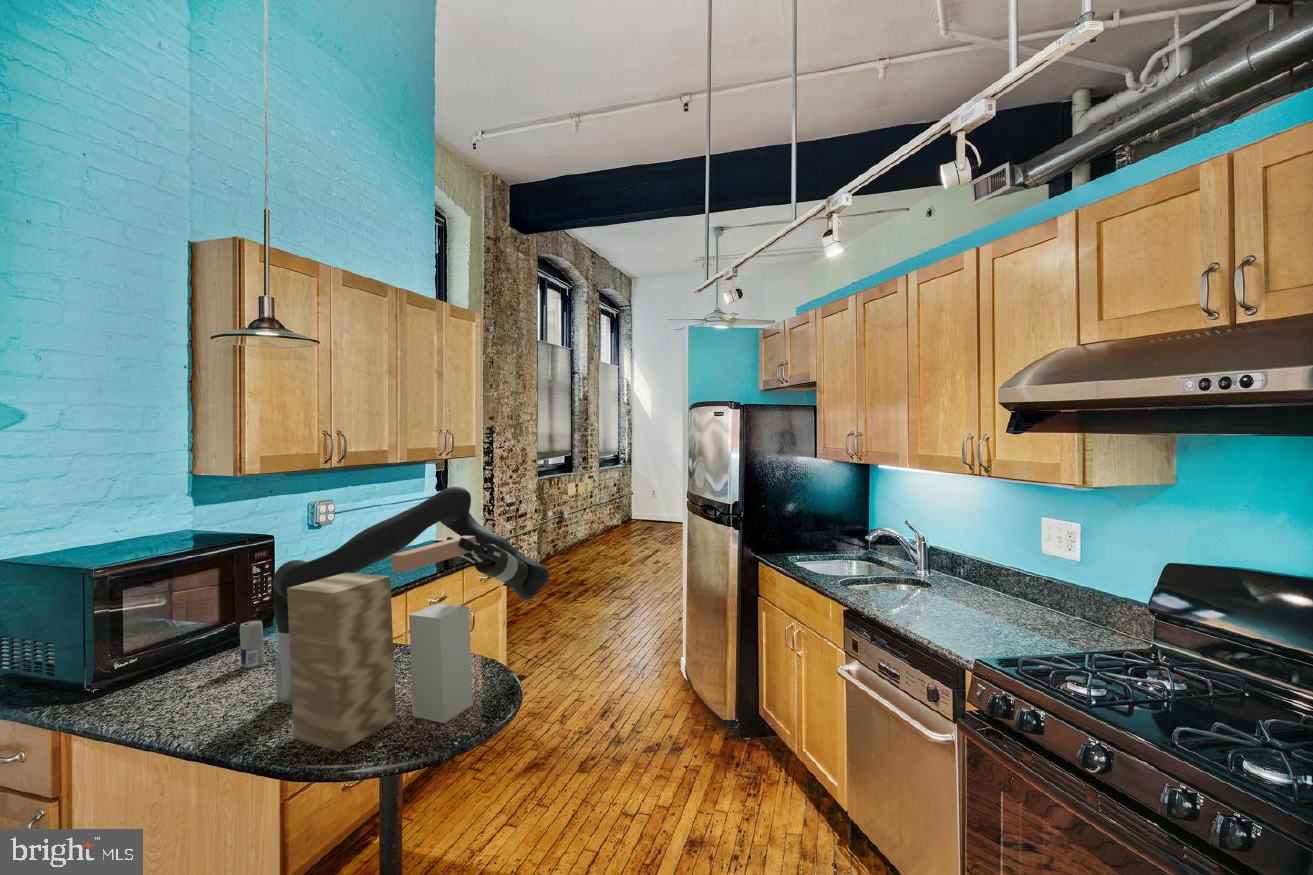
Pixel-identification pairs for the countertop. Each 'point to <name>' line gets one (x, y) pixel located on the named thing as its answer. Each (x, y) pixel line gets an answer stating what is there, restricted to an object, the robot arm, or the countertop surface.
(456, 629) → the grey block
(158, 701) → the countertop surface
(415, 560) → the terracotta bar
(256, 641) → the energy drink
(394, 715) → the oak stand
